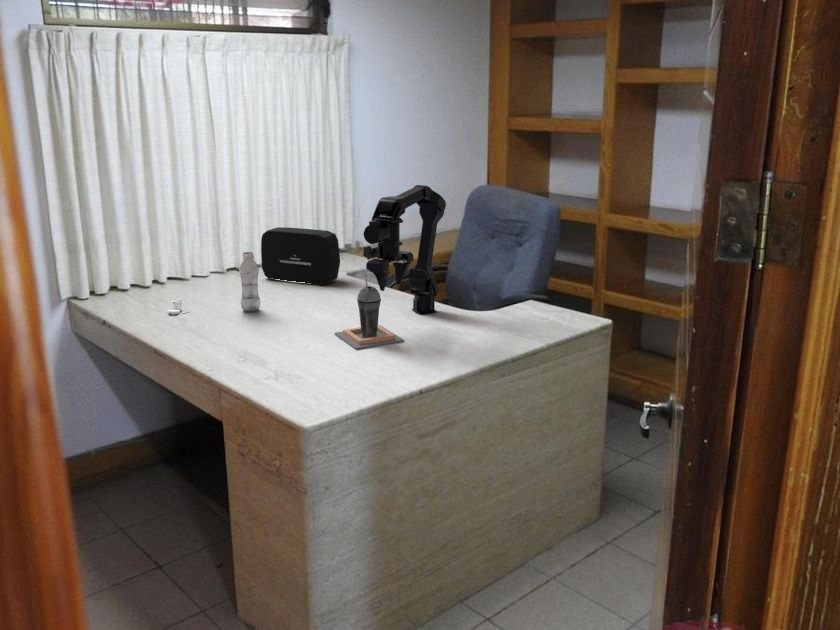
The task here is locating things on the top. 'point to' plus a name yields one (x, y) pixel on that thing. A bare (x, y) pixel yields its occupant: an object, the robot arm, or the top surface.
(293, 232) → the black hard case
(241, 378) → the top surface
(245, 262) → the plastic bottle
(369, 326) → the beverage cup
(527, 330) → the top surface
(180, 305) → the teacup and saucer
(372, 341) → the cup dock
